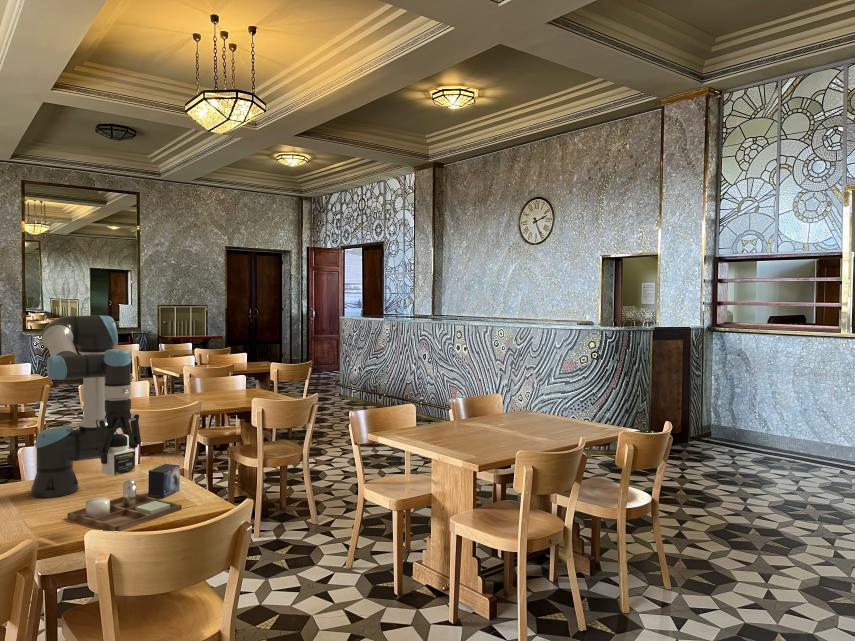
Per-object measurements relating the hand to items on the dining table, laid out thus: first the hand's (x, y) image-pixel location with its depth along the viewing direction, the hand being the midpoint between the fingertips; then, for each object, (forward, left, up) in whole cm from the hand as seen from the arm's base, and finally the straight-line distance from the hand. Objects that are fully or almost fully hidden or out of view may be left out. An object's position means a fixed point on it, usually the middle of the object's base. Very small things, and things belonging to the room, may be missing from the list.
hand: (118, 470), depth 208 cm
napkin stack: (0, +12, -17) cm, 21 cm away
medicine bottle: (0, 0, -1) cm, 1 cm away
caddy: (-5, +7, -17) cm, 19 cm away
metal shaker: (-11, +12, -17) cm, 24 cm away
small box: (-12, +28, -18) cm, 35 cm away
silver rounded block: (-11, +1, -17) cm, 20 cm away
